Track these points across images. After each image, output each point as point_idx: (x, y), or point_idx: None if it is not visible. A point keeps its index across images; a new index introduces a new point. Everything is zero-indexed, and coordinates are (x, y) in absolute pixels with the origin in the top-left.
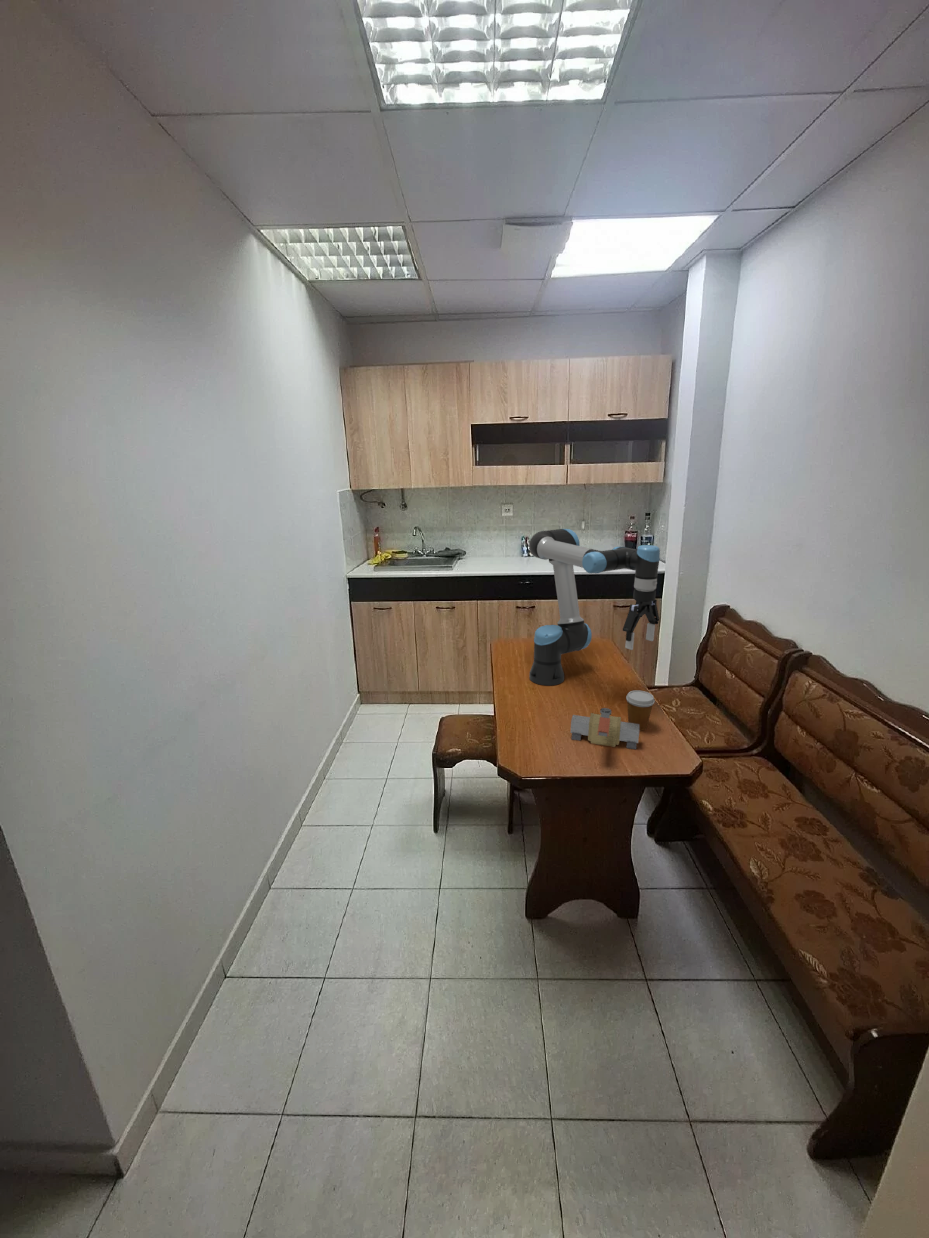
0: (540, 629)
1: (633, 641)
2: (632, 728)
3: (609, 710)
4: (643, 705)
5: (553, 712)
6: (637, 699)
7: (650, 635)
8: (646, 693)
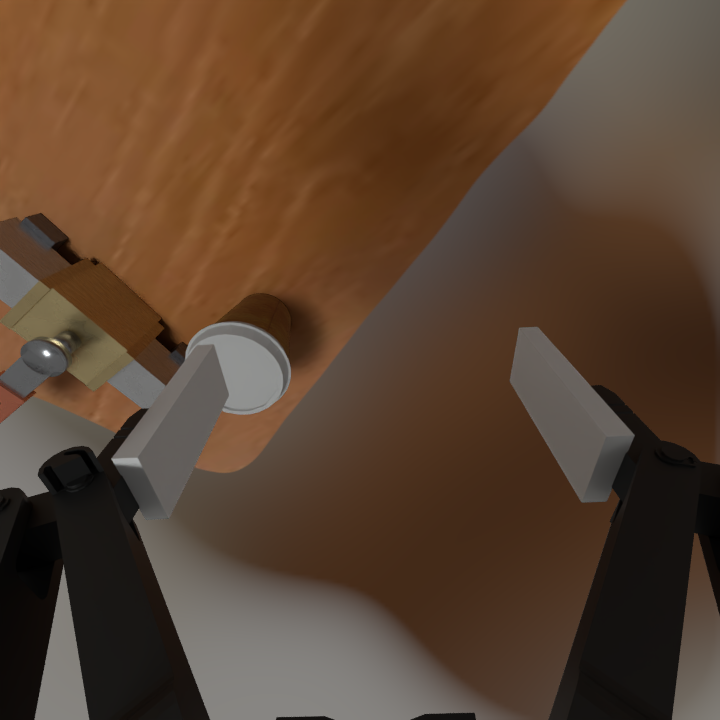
0: None
1: (203, 442)
2: (142, 399)
3: (57, 366)
4: None
5: (15, 33)
6: None
7: (530, 391)
8: (277, 372)
